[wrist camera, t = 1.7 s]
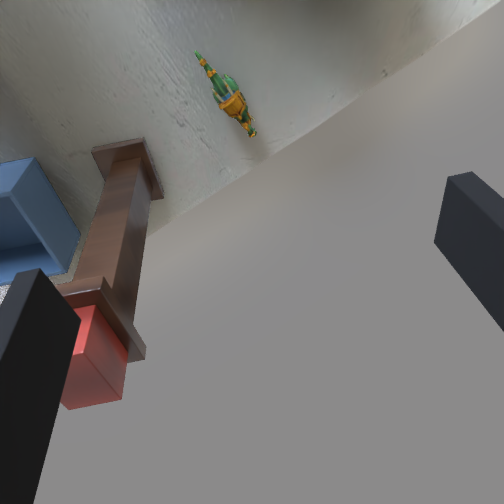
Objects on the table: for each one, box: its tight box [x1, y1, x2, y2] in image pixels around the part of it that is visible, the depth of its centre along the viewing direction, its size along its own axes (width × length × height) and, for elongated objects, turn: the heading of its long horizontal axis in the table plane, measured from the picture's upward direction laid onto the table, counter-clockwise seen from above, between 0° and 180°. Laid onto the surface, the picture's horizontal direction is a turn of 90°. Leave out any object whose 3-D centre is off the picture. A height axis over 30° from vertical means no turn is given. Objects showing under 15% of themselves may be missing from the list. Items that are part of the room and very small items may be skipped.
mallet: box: [60, 305, 128, 410], centre depth 30 cm, size 7×13×4 cm, turn 99°
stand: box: [54, 137, 164, 363], centre depth 42 cm, size 10×7×28 cm
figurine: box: [194, 51, 257, 137], centre depth 44 cm, size 3×12×8 cm, turn 34°
